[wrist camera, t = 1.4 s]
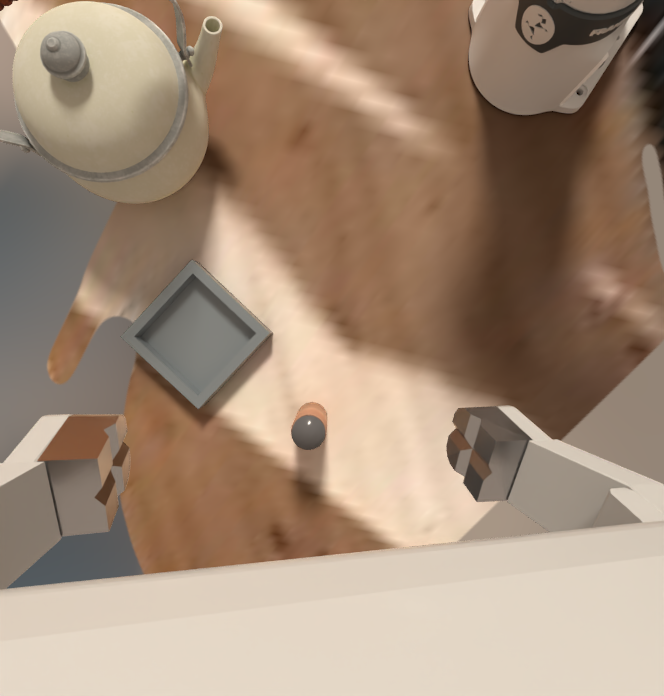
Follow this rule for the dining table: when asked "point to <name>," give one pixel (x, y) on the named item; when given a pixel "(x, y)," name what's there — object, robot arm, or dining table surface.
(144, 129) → the kettle
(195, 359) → the tray
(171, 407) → the dining table surface
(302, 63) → the dining table surface
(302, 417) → the terracotta jar
